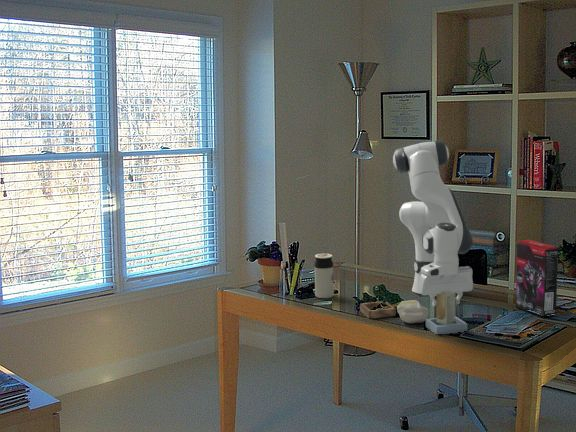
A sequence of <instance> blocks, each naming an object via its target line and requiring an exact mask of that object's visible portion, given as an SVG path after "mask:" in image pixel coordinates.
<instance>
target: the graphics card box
mask: <svg viewBox="0 0 576 432" xmlns="http://www.w3.org/2000/svg"><path fill="white" fill-rule="evenodd" d="M558 261H559V246H554V245H551V244H547V243H542V242H540V241H536V240H532V239H524V240H523V239H522V240H519V241H517V242H516V274H515V280H516V281H515V305H514V306H515V307H514V308H517V309H520V310H522V311H525V310H531V311H535V312H537V313H539V314H540V315H542V316H547V315H551V314H556V315H557V292H558V265H559V262H558Z"/></svg>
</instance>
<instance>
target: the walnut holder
mask: <svg viewBox="0 0 576 432" xmlns="http://www.w3.org/2000/svg"><path fill="white" fill-rule="evenodd" d="M381 303H383V302H382V301H375V302H374V301H372V302H365V303H362V302H361V303H360V304H359V311H360V312H361V313H362V314H363V315H364V316H365V315H366V318H368V319H369V318H371V319H379V318H380V319H381V318H387V317H396V316H397V315H396V314H397V313H396V312H397V311H396V310H397V307H394V306H393V305H392V304H390V303H389V302H388V301H386V302H385V304H386V305H387V307H388V309H378V310H371V309H373V308H374V307H376V306H378V305H379V304H381Z"/></svg>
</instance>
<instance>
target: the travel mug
mask: <svg viewBox="0 0 576 432" xmlns="http://www.w3.org/2000/svg"><path fill="white" fill-rule="evenodd" d="M314 257H315V261H314V264H313V265H314V296H315V297H316V298H318V299H330V298H332V297H334V296H335V294H334V293H335V290H334V288H335V287H334V285H335V284H334V283H335V282H334V262H333V260H332V258H333V255H332V254H330V253H317V254H315V255H314Z"/></svg>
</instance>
